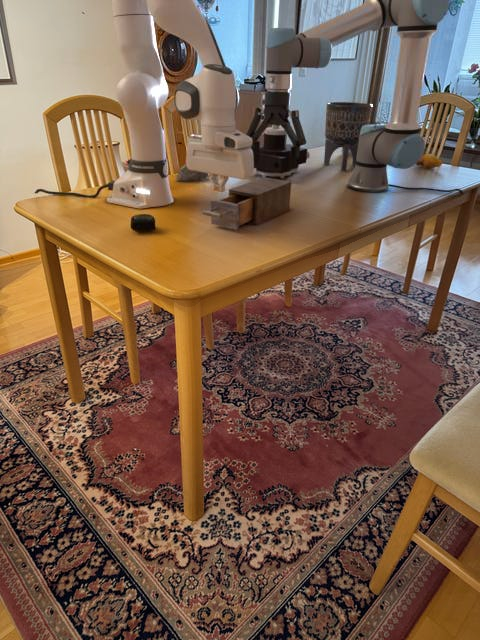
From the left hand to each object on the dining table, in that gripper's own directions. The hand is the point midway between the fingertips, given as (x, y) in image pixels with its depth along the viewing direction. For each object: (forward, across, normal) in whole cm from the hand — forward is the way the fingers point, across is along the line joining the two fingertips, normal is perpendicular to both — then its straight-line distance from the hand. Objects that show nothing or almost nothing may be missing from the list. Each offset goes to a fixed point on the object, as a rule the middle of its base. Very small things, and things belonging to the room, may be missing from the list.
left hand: (218, 191), depth 123 cm
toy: (+12, +22, +133) cm, 136 cm away
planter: (+12, -9, +107) cm, 108 cm away
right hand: (-2, 0, +29) cm, 29 cm away
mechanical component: (+12, -25, +77) cm, 82 cm away
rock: (+12, -46, +44) cm, 65 cm away
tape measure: (+12, -17, -12) cm, 24 cm away
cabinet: (+12, 0, +22) cm, 25 cm away
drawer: (+11, 0, +9) cm, 14 cm away
